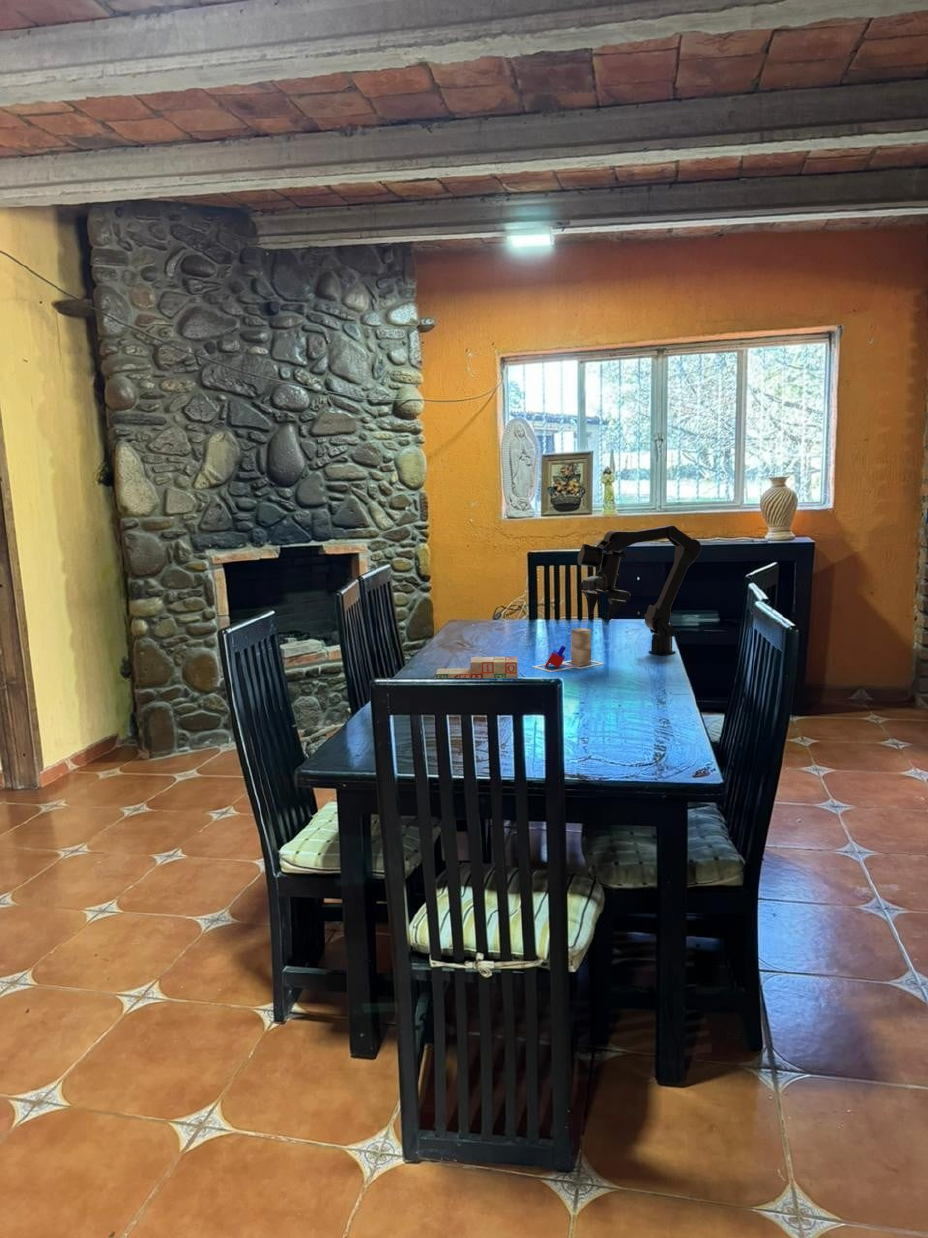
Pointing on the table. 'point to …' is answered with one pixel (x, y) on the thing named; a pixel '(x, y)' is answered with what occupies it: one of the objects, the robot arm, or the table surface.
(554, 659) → the toy building block
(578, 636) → the beech pillar
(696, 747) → the table surface
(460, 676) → the stack of blocks
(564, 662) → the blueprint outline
